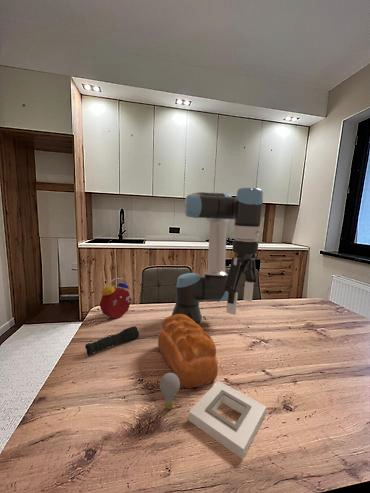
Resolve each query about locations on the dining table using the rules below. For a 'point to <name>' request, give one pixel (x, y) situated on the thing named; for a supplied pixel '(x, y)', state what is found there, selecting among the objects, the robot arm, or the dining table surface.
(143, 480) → the dining table surface
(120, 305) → the alarm clock
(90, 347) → the flashlight
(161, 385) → the light bulb
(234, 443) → the socket block
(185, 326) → the bread
